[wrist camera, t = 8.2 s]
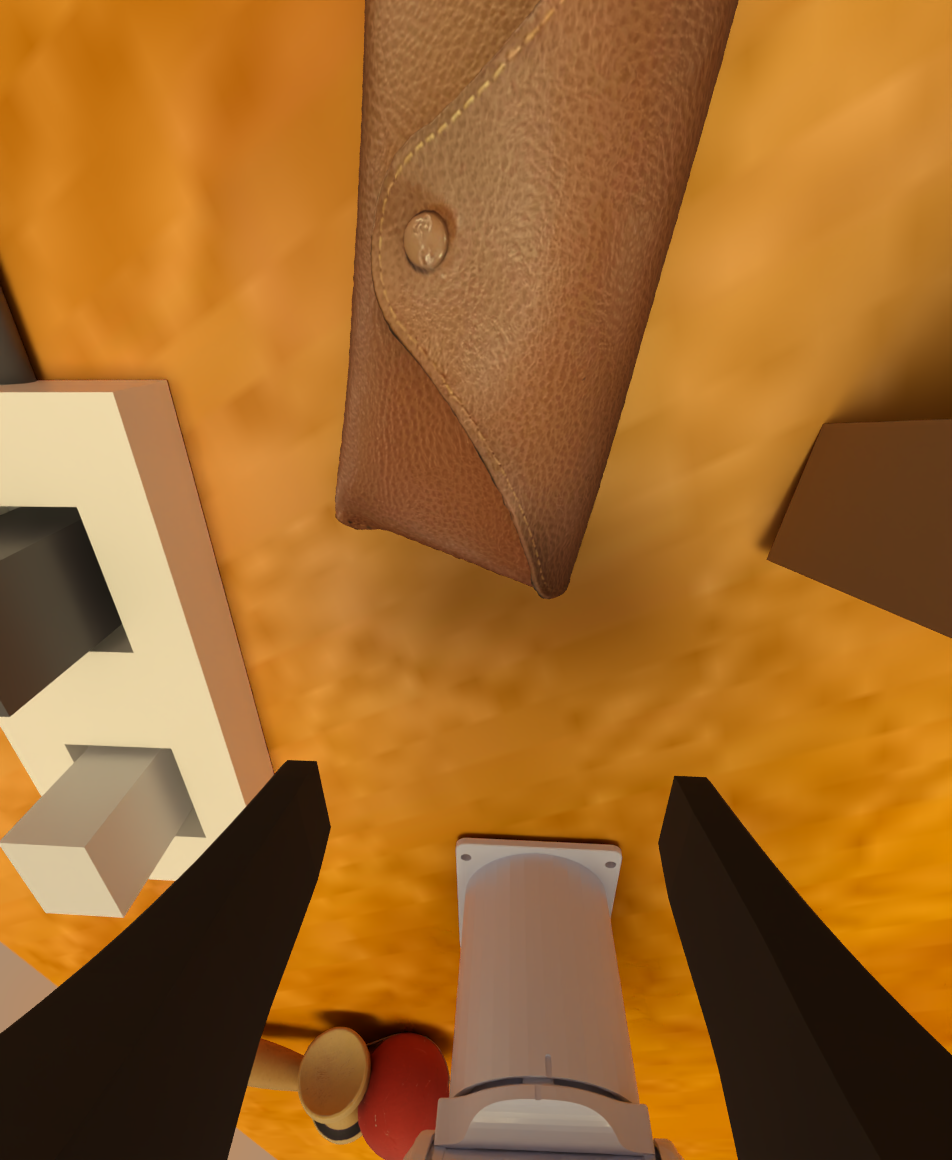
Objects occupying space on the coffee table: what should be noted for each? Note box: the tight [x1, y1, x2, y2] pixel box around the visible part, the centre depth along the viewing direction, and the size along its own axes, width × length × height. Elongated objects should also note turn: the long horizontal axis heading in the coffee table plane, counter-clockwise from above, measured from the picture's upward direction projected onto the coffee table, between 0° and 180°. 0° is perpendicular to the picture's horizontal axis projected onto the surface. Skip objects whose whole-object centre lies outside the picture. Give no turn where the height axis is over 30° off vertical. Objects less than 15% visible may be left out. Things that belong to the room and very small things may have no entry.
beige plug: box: [0, 745, 194, 918], centre depth 21 cm, size 4×3×6 cm
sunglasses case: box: [335, 0, 738, 599], centre depth 13 cm, size 18×7×7 cm, turn 172°
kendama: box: [247, 1027, 450, 1160], centre depth 35 cm, size 8×6×18 cm
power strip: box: [0, 286, 274, 881], centre depth 17 cm, size 32×9×6 cm, turn 1°
